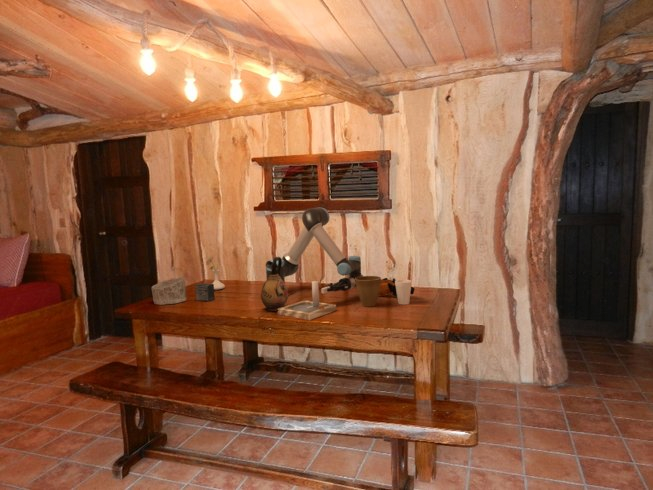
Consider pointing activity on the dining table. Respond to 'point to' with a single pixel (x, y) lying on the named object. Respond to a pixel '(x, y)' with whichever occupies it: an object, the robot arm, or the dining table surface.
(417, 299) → the dining table surface
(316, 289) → the beige peg stand
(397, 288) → the foam cup
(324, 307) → the wooden square tray
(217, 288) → the flower in vase
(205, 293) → the small box
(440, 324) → the dining table surface
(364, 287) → the plant pot
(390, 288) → the tool
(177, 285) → the petrified wood
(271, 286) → the ceramic jug
